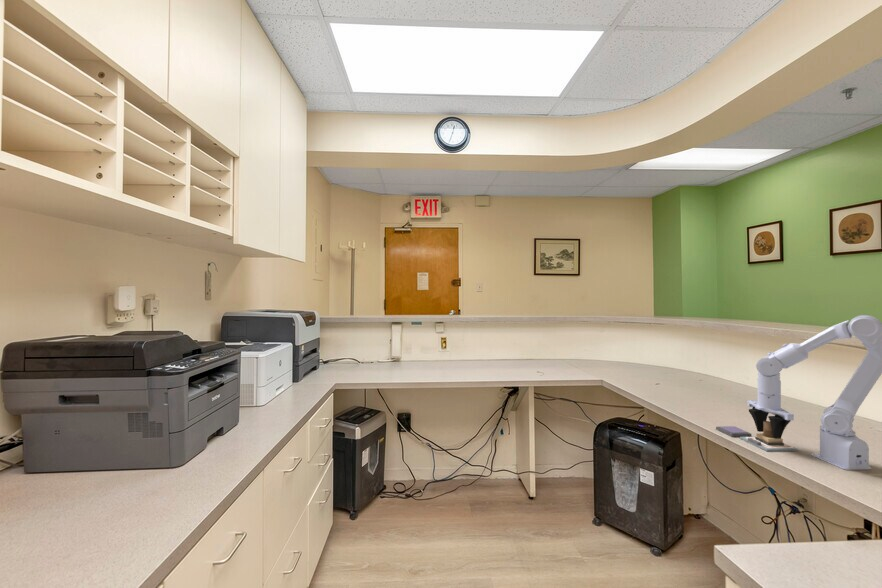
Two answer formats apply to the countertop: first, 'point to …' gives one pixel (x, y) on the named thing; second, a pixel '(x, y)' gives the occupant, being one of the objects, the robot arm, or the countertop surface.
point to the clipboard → (768, 447)
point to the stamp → (768, 435)
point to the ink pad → (733, 431)
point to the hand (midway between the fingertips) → (768, 434)
